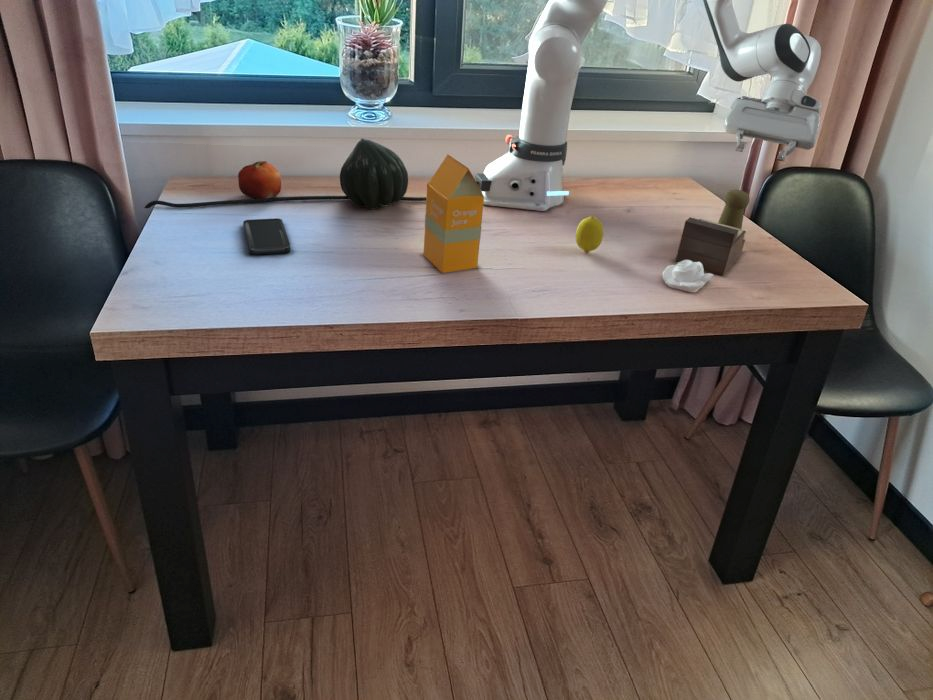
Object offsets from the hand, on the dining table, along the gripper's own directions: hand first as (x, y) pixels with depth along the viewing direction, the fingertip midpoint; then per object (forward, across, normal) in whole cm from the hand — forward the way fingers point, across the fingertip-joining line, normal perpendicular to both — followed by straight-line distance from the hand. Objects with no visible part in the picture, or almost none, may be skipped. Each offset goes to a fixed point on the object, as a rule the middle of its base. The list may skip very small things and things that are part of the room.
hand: (759, 154), depth 167 cm
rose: (+41, 0, -18) cm, 45 cm away
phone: (+68, -74, -45) cm, 110 cm away
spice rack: (+30, 0, -6) cm, 31 cm away
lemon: (+41, -21, -18) cm, 50 cm away
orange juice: (+57, -41, -34) cm, 78 cm away
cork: (+20, 0, +3) cm, 21 cm away
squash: (+47, -71, -23) cm, 88 cm away
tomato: (+57, -91, -34) cm, 113 cm away
